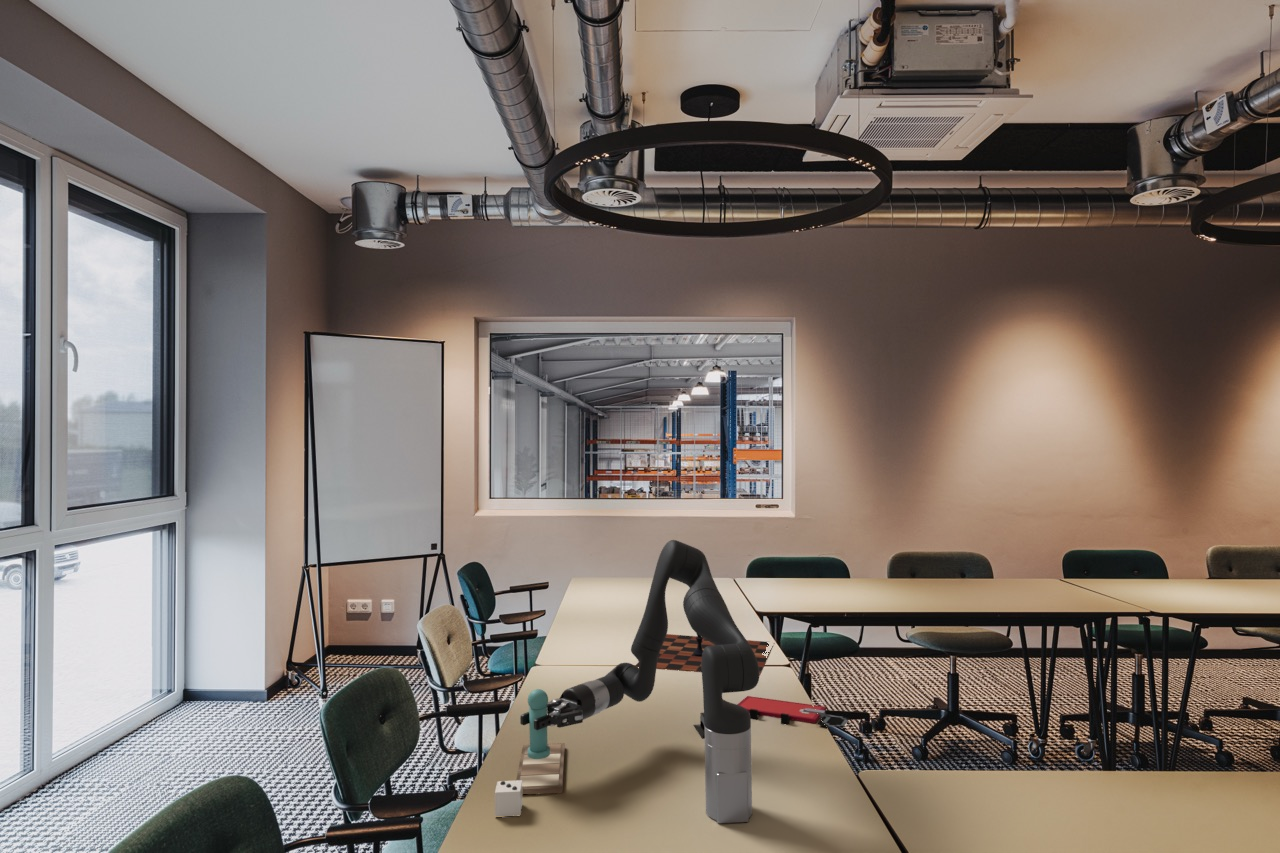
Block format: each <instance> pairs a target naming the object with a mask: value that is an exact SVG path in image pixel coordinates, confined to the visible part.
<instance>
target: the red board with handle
mask: <svg viewBox="0 0 1280 853" xmlns="http://www.w3.org/2000/svg"><path fill="white" fill-rule="evenodd" d="M736 705H740V706H742V707H744V708H745V709H747V710H748V711H749V713H750V717H751V720H758V719H759V716H764V717H769V718H770V717H771V718H776V719H780V725H784V724H786V725H785V726H788V724H790V721H796V720H797V721H798V722H803V721H804V723H811V724H816V723H817V722H818V723H817V724H816V725H817V726H825V727H826V726H827V727H832V728H833V727H834V728H840V729H843V728H844V727H845V725H846V724H847V723H848V722H849V720H850V719H851V718H850V717H848V716H847V717H846V716H840V715H833V714H827V713H826V711H827V706H823V705H817V704H808V703H802V702H793V701H788V700H779V699H773V698H764V697H757V696H750V695H747V696H746V697H744V698H743V699H742V700H741V701H740V702H738V703H736ZM812 705H814V707H813V706H812ZM815 709H816V710H815ZM817 713H818V714H817ZM819 717H820V718H819ZM790 719H791V720H790ZM819 719H820V720H819ZM818 720H819V721H818ZM821 720H822V721H823V722H822V721H821ZM797 721H796V722H797ZM824 724H825V725H824Z"/></svg>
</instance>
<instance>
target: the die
mask: <svg viewBox="0 0 1280 853" xmlns="http://www.w3.org/2000/svg"><path fill="white" fill-rule="evenodd" d="M521 809H523V795H522V780H502V781H501V780H500V781H499V780H498V781H496V786H495V790H494V817H495V816H513V815H514V816H517V815H522V811H521Z"/></svg>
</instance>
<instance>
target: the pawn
mask: <svg viewBox="0 0 1280 853" xmlns="http://www.w3.org/2000/svg"><path fill="white" fill-rule="evenodd" d="M548 702H549V696H548V694H547V692H546V691H545V690H543V689H539V688H536V689H534V690H532V691H531V692H530V693H529V694H528V698H527V704H528V708H529V710H528V712H529V724H528V725H529V745H530V747H529V748H528V757H529V758H532V759H543V758H546V757H548V756H549V755H550V747H549V746H548V745H547V744H548V726H547V727H545V728H542V729H540V730H535V729H534V720H535V719H537V718H540V717H542V716H545V715H548V714H547V706H546V705H547V703H548Z"/></svg>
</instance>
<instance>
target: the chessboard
mask: <svg viewBox="0 0 1280 853" xmlns="http://www.w3.org/2000/svg"><path fill="white" fill-rule="evenodd" d="M695 633H696V632H695ZM746 640H747V642H748V643H749V645H750V646H751V648H752V650H753V652H754V654H755V656H756V659H757V662H758V666H759V677H760V676H761V674H762V671H763V670H764V667H765V664H766V663H767V661H766V660H768V659H767V658H766V656H764V655H762V653H763V652H764V653H765V651H766V647H768V646H769V644H768V643H767V642H768V641H761V640H749V639H746ZM711 645H714V644H713V643H711V642H709V641H707V640H706V639H704V638H702V637H701V636H700V635H698V634H697V633H696V635H695V636H694V635H684V634H669V633H667V635H666V638H665V640H664V643H663V645H662V648H661V650H660V653H659V655H658V660H657V667H656V670H665V669H667V670H668V671H678V670H679V671H681V672H691V671H694V673H702V668H701V659H702V653H703V650H704V648H705V647H707V646H711ZM767 645H768V646H767ZM764 653H763V654H764ZM766 653H767V652H766ZM766 653H765V654H766ZM768 653H769V652H768ZM770 654H771V652H770V653H769V655H770ZM767 657H768V658H769V656H767ZM634 666H636V667H639V661H637V663H636V664H634ZM667 670H666V671H667Z"/></svg>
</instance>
